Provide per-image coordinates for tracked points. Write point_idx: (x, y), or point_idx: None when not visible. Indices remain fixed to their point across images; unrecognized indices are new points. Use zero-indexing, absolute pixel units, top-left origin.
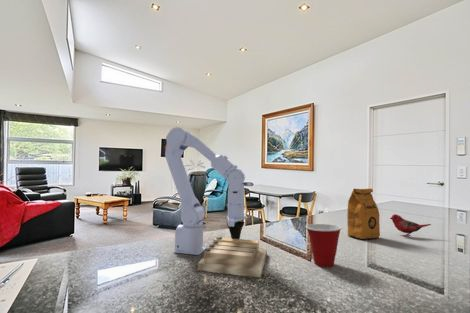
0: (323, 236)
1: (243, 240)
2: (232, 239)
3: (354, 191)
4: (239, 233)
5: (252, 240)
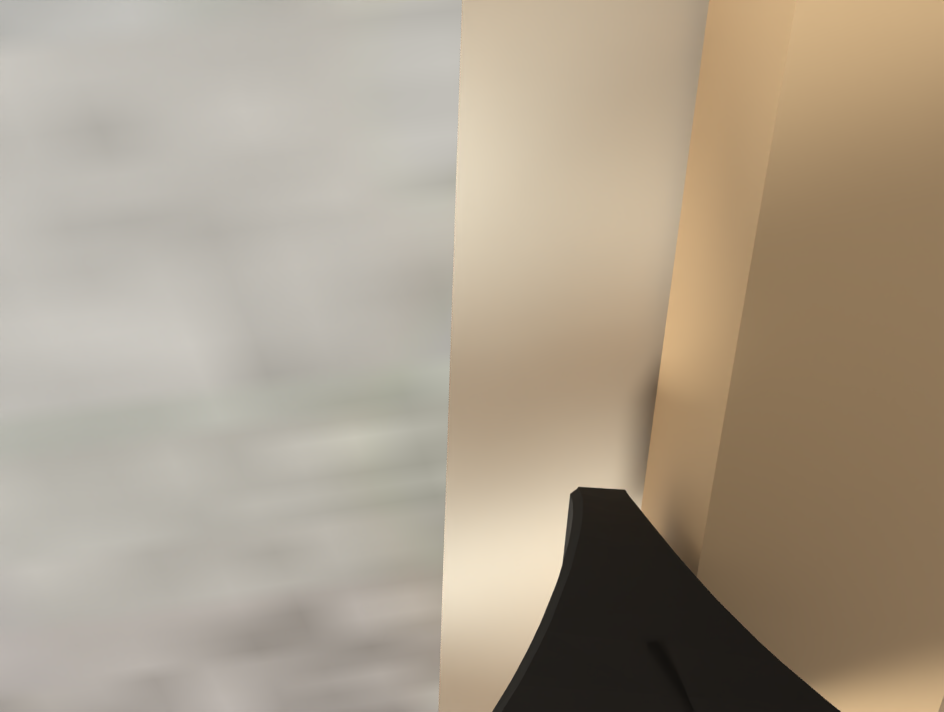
0: None
1: (857, 401)
2: None
3: None
4: (794, 676)
5: (832, 76)
